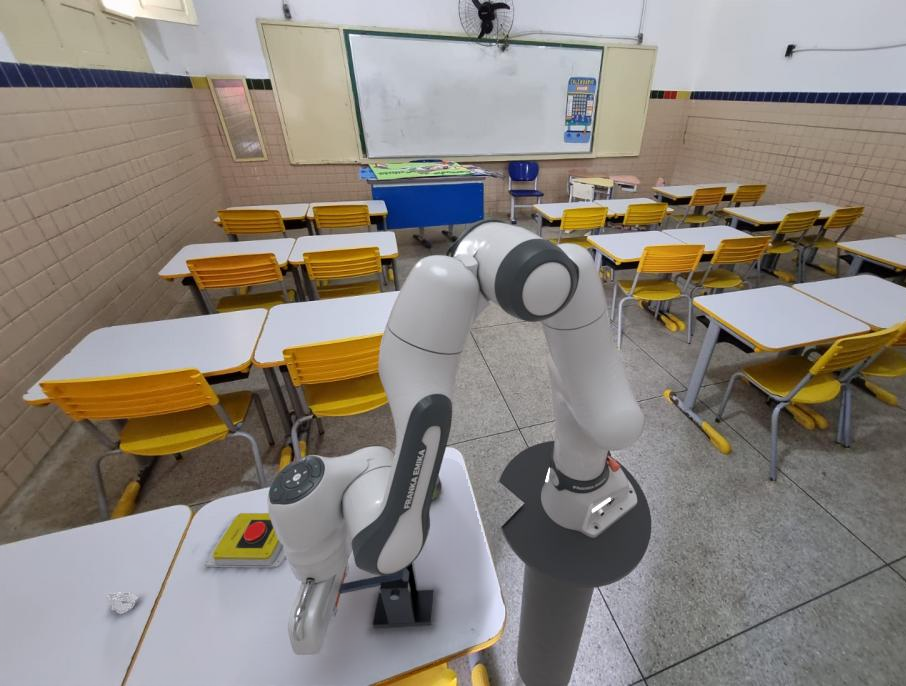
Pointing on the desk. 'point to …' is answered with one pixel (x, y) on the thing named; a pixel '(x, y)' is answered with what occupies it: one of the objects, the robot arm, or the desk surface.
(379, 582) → the switch lever
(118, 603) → the white crumpled lump
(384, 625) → the switch bracket
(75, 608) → the desk surface
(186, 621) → the desk surface
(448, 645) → the desk surface
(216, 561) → the emergency button
